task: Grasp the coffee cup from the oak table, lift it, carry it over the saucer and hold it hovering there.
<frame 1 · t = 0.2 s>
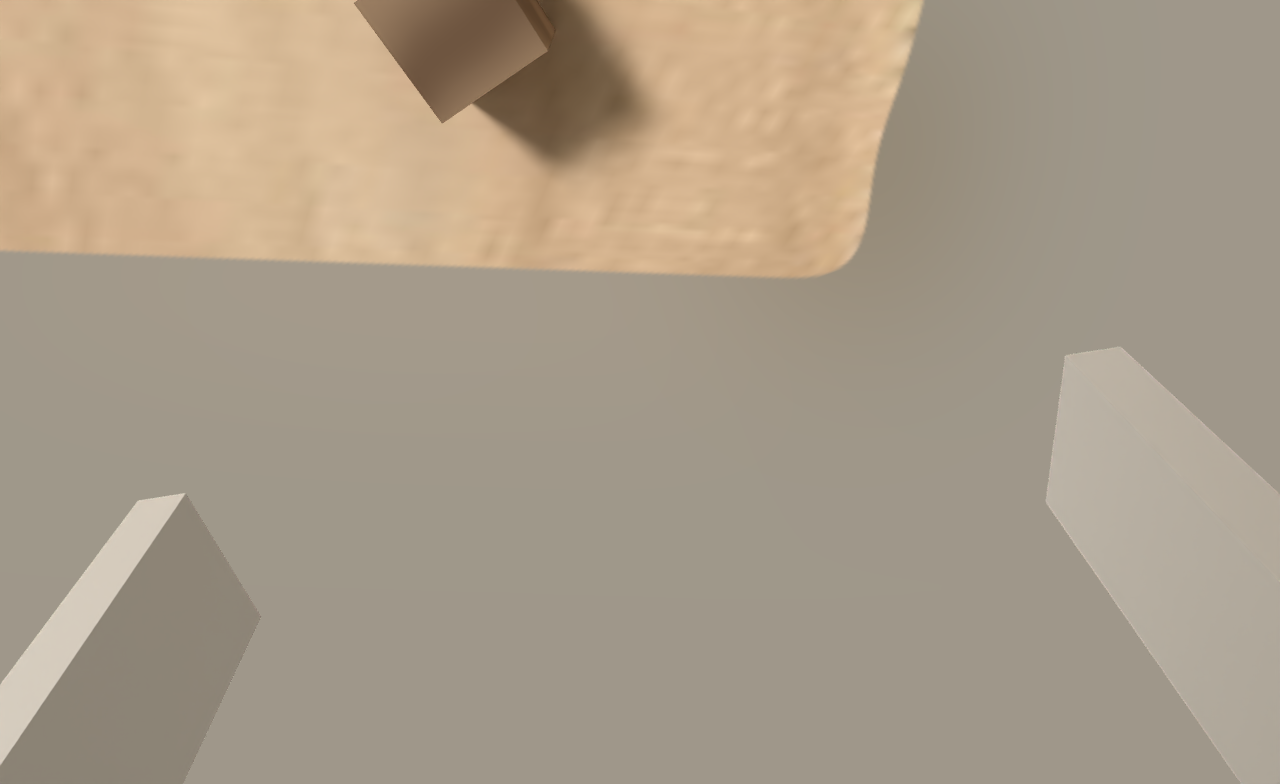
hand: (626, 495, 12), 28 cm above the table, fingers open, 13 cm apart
walnut block: (472, 9, 34), on the table
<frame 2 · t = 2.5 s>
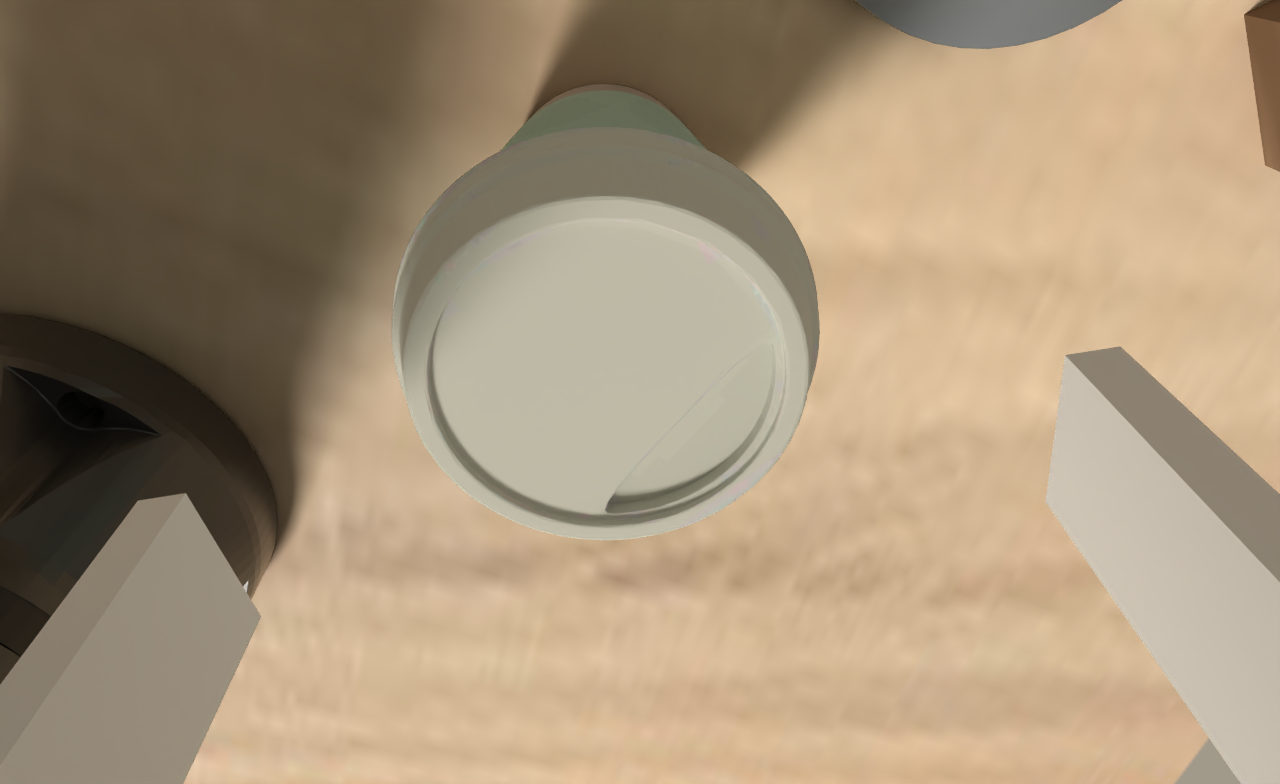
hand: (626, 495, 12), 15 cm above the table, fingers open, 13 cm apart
coffee cup: (605, 179, 25), on the table
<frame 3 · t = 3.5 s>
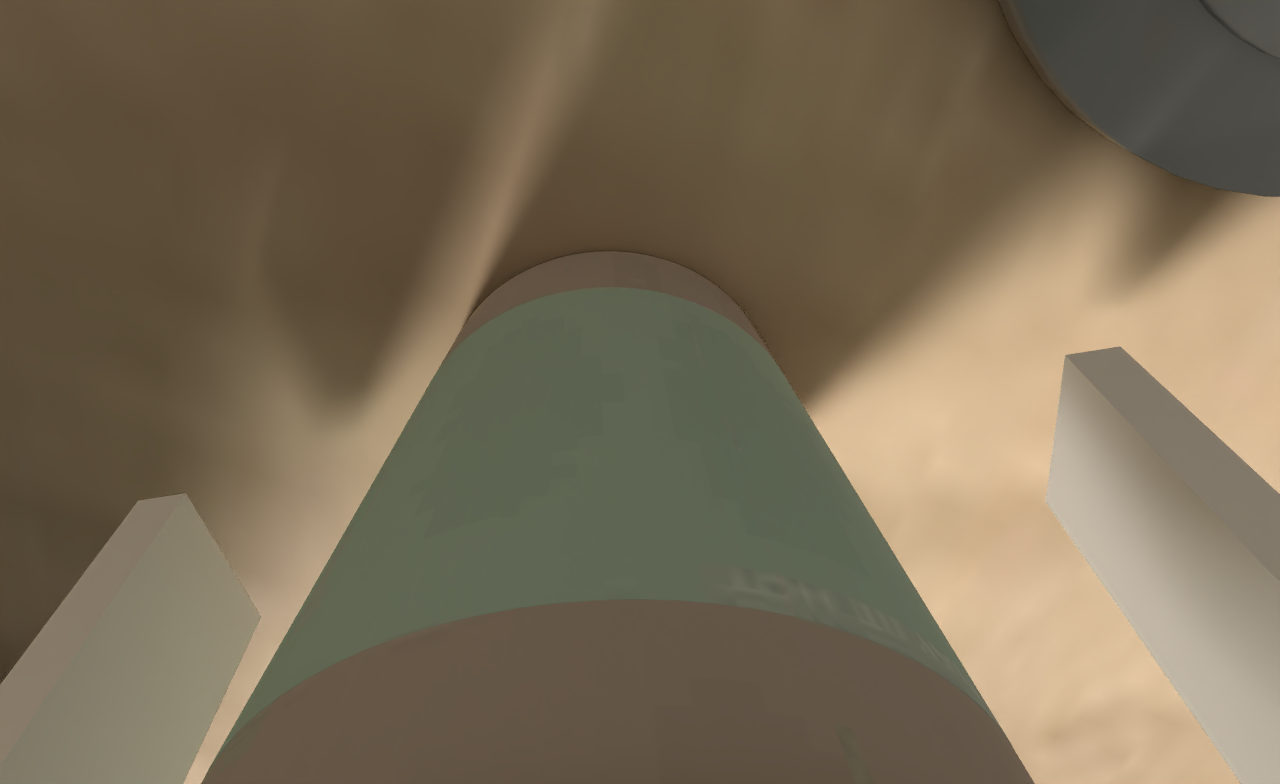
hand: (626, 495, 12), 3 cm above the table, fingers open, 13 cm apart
coffee cup: (610, 392, 15), on the table
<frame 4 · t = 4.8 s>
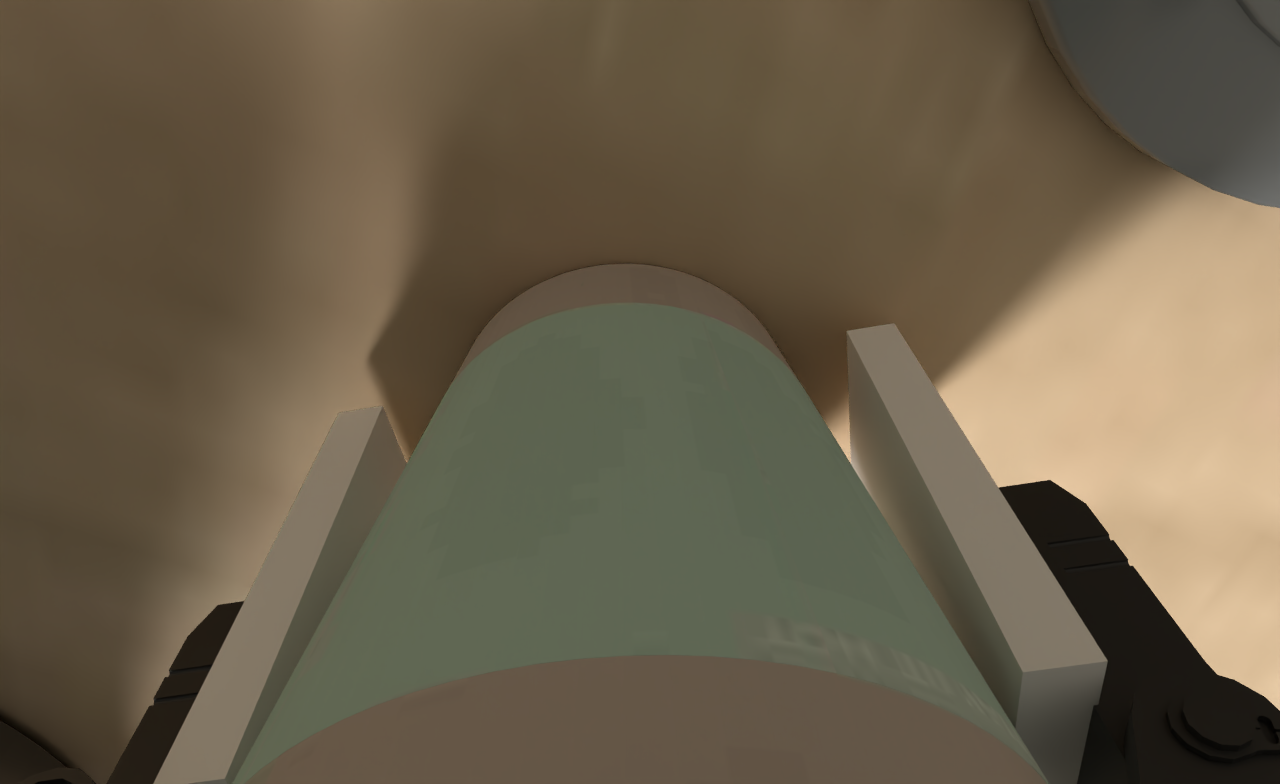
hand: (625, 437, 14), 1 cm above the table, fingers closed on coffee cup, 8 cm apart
coffee cup: (625, 407, 15), on the table, touching gripper
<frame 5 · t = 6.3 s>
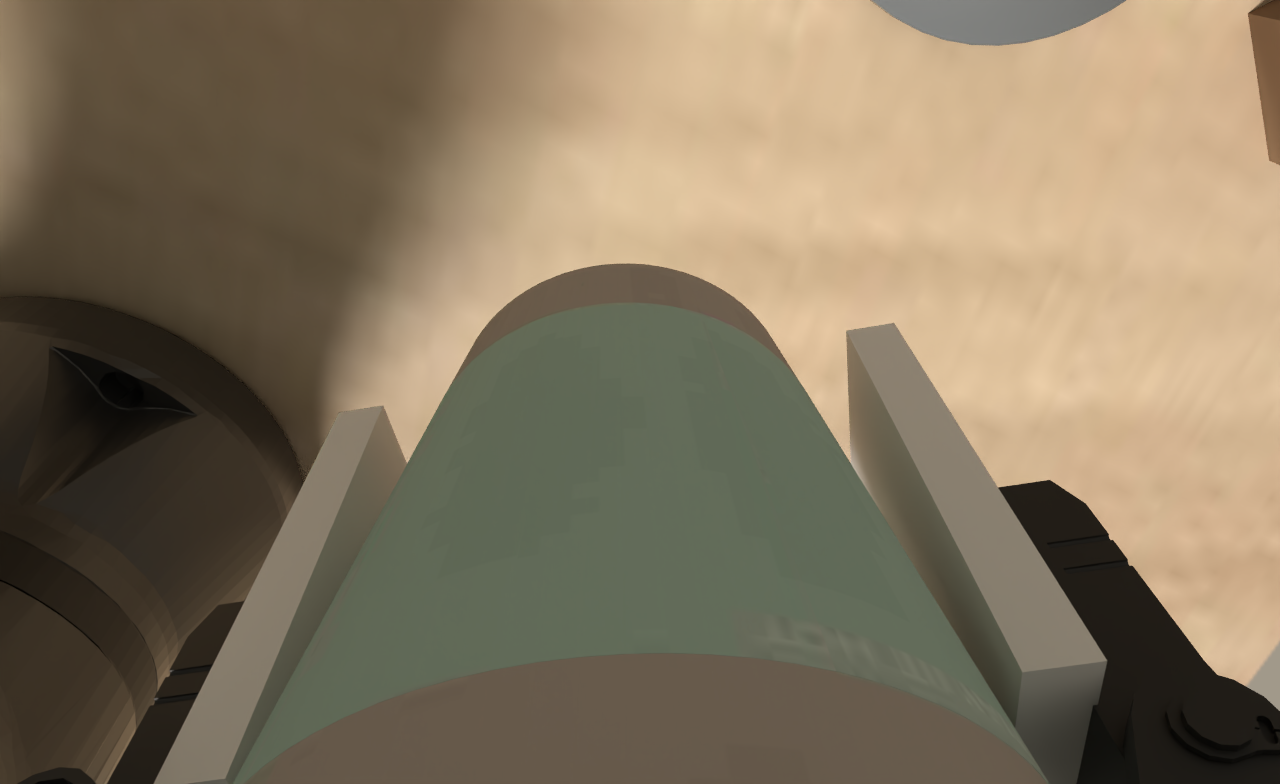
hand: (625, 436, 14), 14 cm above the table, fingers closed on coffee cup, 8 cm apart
coffee cup: (625, 407, 15), point 13 cm above the table, touching gripper
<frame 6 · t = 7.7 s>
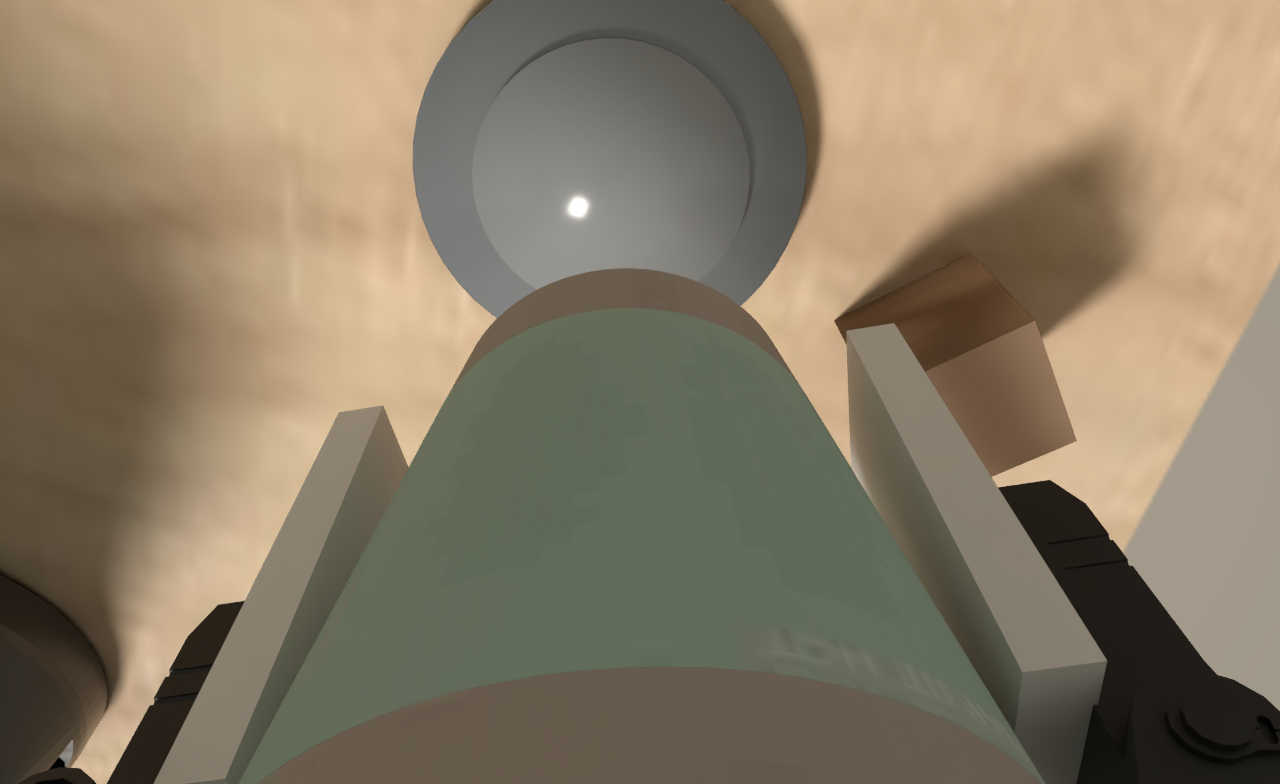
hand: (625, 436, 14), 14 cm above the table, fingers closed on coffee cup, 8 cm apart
coffee cup: (626, 411, 15), point 13 cm above the table, touching gripper
walnut block: (924, 340, 29), on the table
saucer: (611, 176, 26), on the table
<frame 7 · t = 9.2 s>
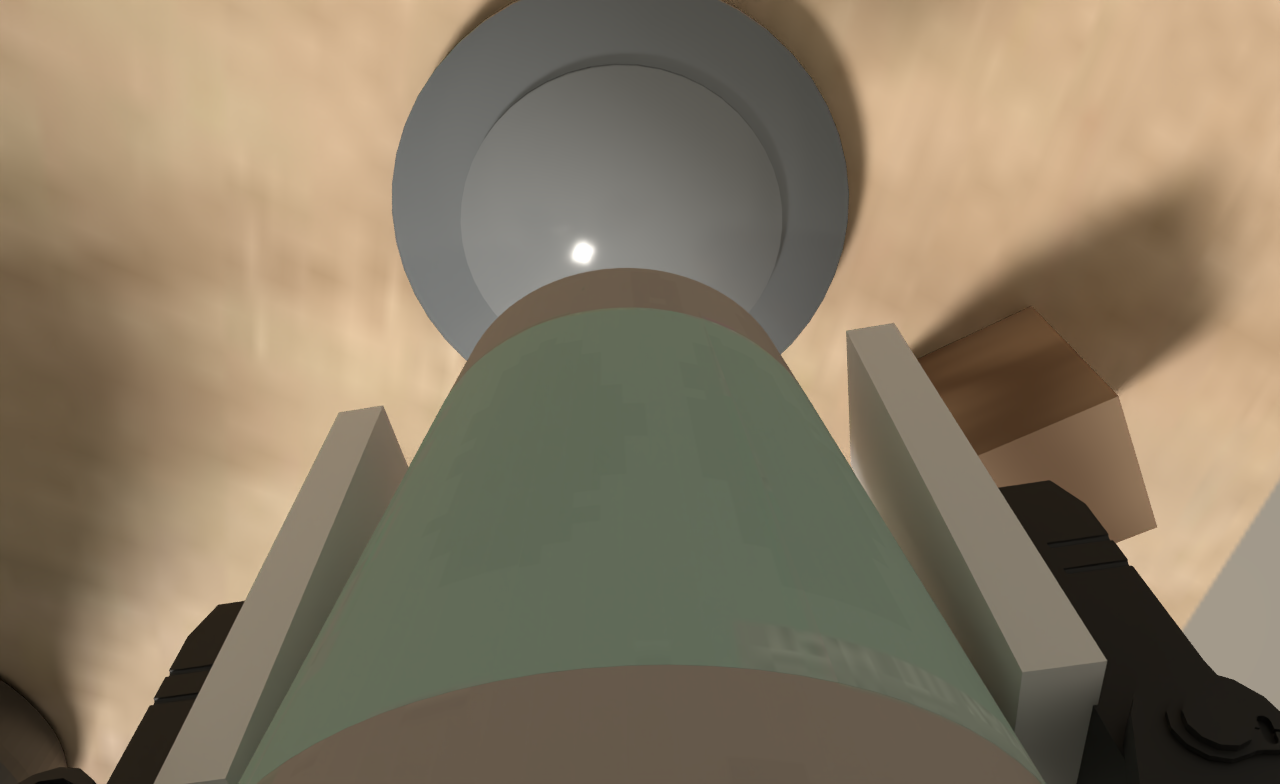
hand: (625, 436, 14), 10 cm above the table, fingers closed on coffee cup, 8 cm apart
coffee cup: (626, 411, 15), point 9 cm above the table, touching gripper
walnut block: (974, 401, 26), on the table
saucer: (622, 220, 22), on the table
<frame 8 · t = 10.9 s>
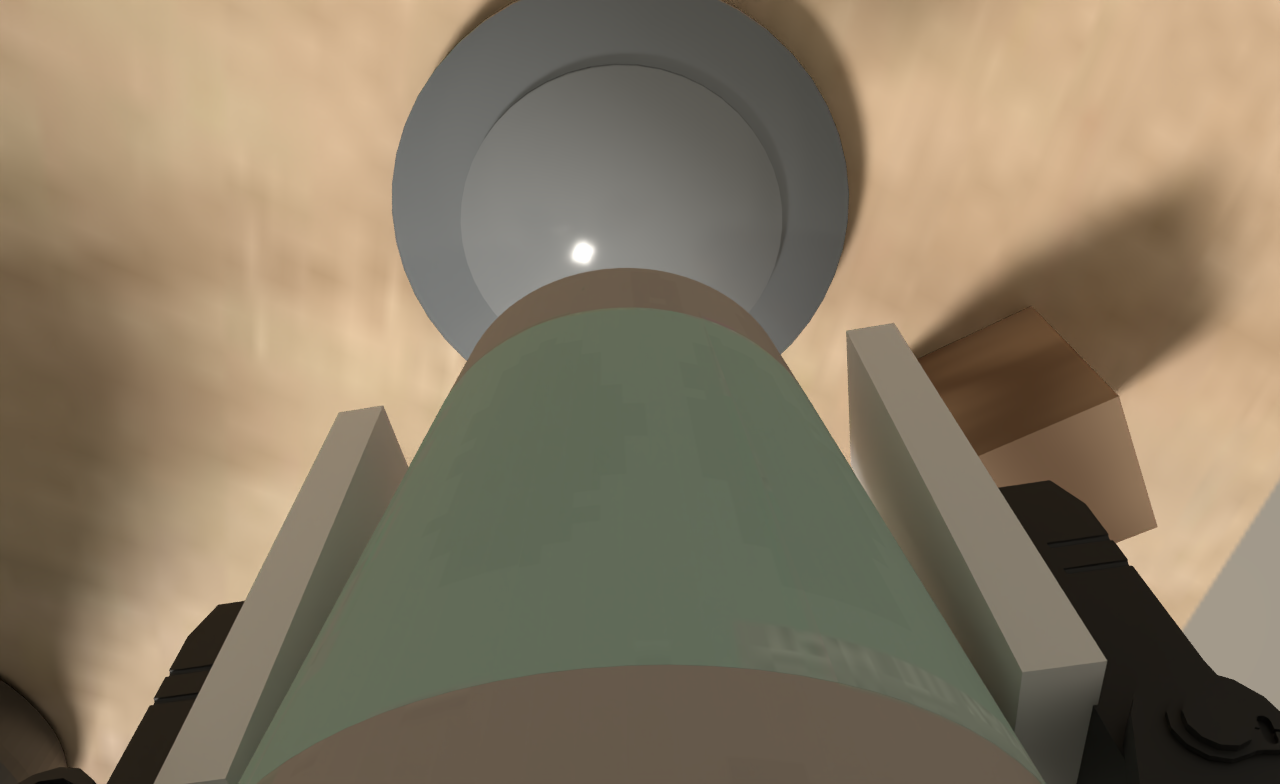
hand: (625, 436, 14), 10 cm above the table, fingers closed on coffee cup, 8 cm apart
coffee cup: (626, 411, 15), point 9 cm above the table, touching gripper
walnut block: (974, 401, 26), on the table
saucer: (622, 220, 22), on the table
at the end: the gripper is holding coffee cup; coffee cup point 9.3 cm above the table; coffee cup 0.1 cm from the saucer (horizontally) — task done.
